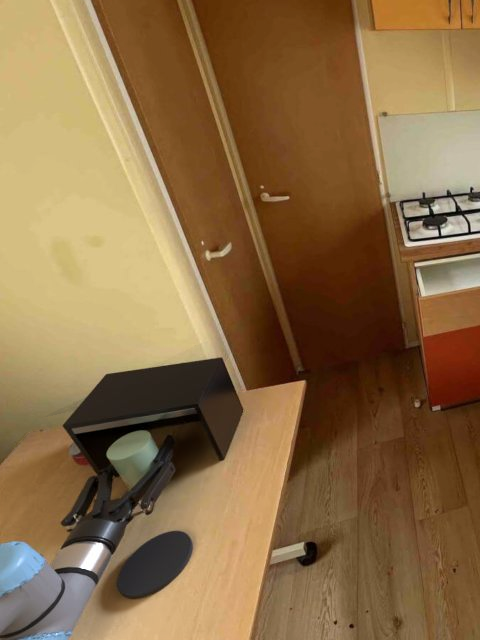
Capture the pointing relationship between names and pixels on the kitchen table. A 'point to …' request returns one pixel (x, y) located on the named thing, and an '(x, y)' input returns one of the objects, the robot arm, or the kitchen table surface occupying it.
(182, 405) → the dark wooden monitor stand
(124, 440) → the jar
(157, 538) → the trivet
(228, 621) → the kitchen table surface
